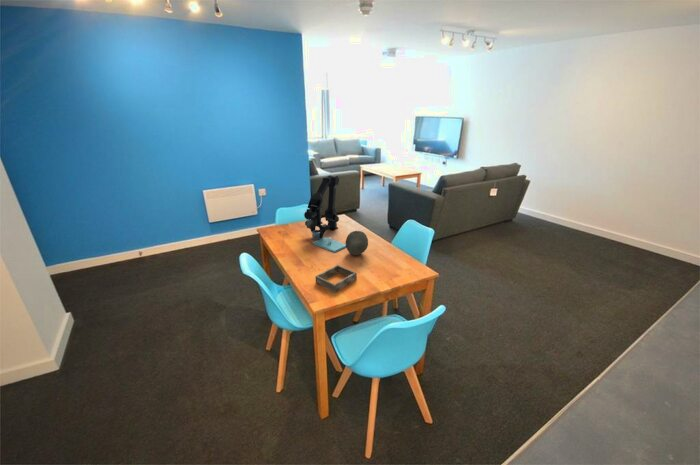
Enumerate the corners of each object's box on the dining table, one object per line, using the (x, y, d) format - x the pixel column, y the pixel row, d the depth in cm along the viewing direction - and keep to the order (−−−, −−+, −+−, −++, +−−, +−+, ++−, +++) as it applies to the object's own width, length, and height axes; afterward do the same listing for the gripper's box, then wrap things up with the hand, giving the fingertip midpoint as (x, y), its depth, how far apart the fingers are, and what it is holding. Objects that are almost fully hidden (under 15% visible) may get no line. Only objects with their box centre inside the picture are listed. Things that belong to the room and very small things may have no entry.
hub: (317, 235, 213) (317, 228, 211) (324, 237, 208) (324, 231, 206) (310, 238, 208) (310, 231, 206) (317, 240, 203) (317, 234, 202)
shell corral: (337, 271, 165) (337, 264, 163) (356, 279, 157) (356, 272, 155) (315, 283, 153) (315, 276, 152) (334, 292, 145) (334, 285, 144)
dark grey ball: (341, 256, 181) (340, 233, 176) (351, 247, 193) (351, 226, 187) (362, 261, 175) (362, 238, 170) (372, 252, 187) (372, 230, 181)
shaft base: (325, 238, 207) (325, 231, 205) (347, 246, 195) (347, 239, 193) (312, 244, 199) (312, 236, 197) (334, 252, 186) (334, 245, 185)
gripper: (298, 215, 202) (299, 236, 208) (317, 221, 190) (318, 244, 196) (310, 211, 210) (311, 232, 215) (329, 217, 198) (330, 238, 204)
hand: (317, 236), depth 208 cm, fingers open, 8 cm apart
